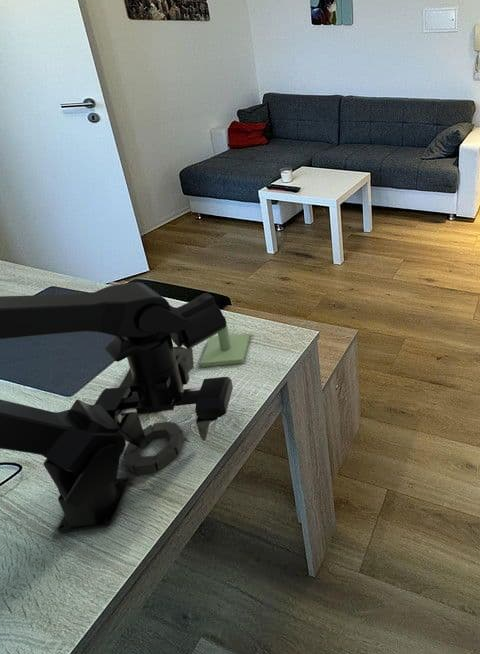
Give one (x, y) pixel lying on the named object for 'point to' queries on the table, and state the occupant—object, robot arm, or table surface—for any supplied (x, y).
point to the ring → (164, 456)
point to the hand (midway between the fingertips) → (174, 441)
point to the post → (225, 349)
